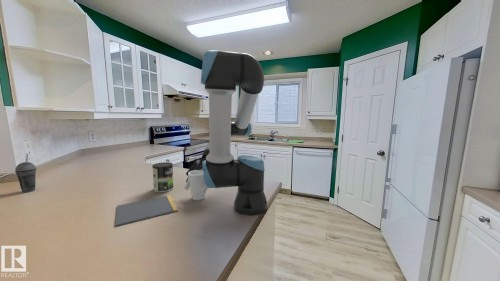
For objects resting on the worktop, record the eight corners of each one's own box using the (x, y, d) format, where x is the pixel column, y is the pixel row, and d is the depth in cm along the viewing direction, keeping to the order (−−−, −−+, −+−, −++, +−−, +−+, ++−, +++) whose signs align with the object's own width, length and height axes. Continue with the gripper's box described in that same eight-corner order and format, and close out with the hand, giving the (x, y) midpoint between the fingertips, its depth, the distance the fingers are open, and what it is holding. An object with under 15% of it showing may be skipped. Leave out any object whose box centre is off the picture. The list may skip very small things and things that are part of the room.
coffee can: (177, 186, 110) (176, 162, 108) (166, 193, 100) (165, 167, 98) (161, 184, 112) (160, 161, 110) (149, 191, 102) (147, 166, 100)
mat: (177, 211, 82) (177, 209, 82) (115, 226, 70) (115, 224, 70) (169, 196, 97) (169, 194, 97) (117, 206, 85) (117, 205, 85)
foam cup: (210, 194, 100) (210, 170, 98) (204, 202, 91) (204, 175, 89) (193, 193, 101) (192, 169, 99) (185, 200, 92) (184, 174, 90)
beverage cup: (16, 192, 99) (10, 154, 96) (36, 187, 105) (31, 152, 103) (20, 194, 96) (14, 156, 93) (41, 190, 102) (36, 153, 100)
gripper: (230, 158, 105) (217, 196, 92) (196, 154, 111) (179, 190, 98) (226, 150, 99) (212, 190, 86) (190, 147, 106) (172, 184, 93)
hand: (194, 190), depth 92 cm, fingers closed on foam cup, 9 cm apart
